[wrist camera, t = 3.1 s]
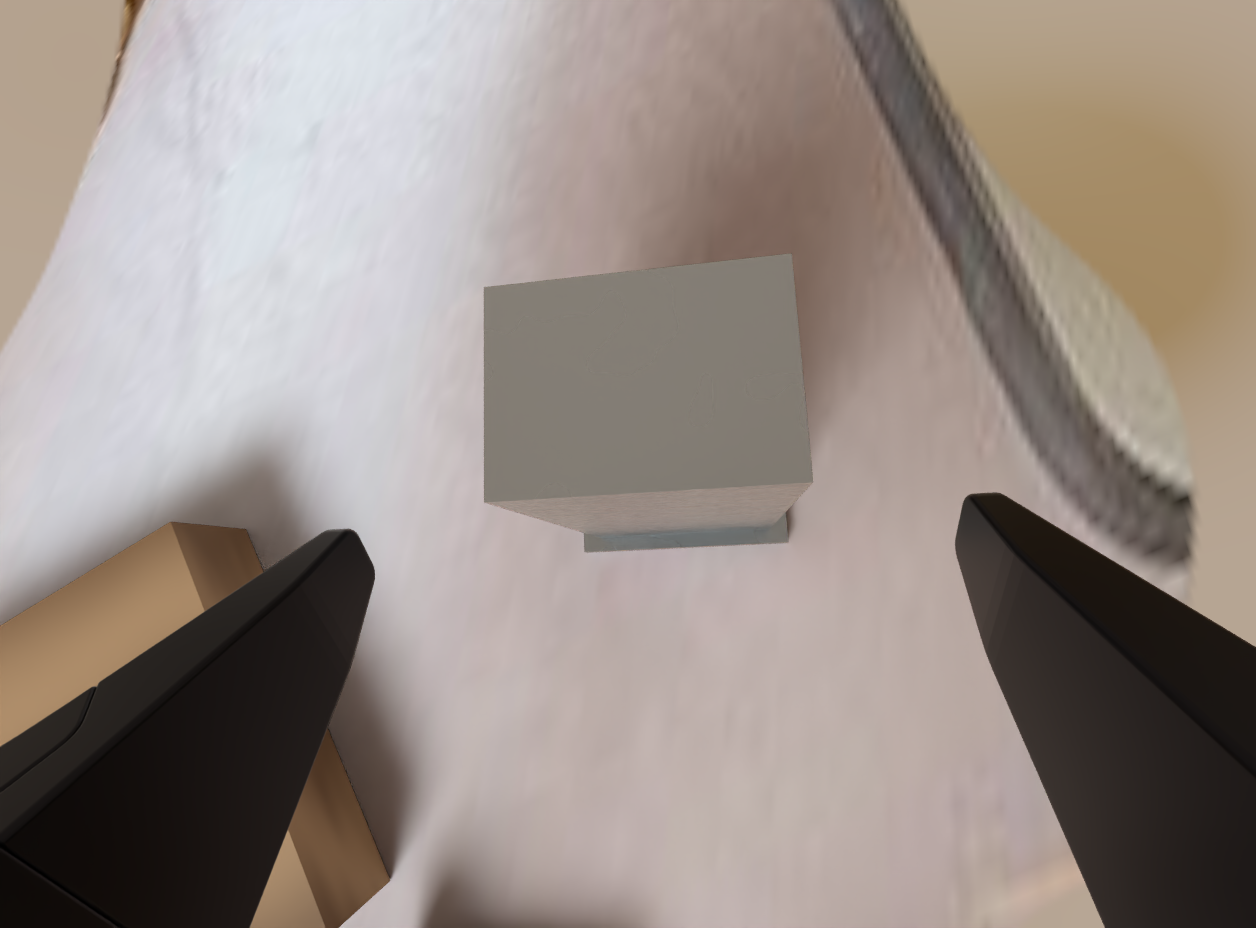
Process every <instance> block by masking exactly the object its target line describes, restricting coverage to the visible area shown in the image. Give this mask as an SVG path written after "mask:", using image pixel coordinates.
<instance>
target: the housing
mask: <svg viewBox="0 0 1256 928" xmlns="http://www.w3.org/2000/svg"><path fill="white" fill-rule="evenodd" d="M812 483H813V474H812V463H811V452H810V442H809V431H808V421H807V410H806V399H805V389H804V378H803V368H802V357H801V347H800V336H799V325H798V315H797V304H796V294H795V283H794V272H793V262H792V253H790V254H781V255H772V256H763V257H754V258H745V259H736V260H727V261H718V262H709V263H700V264H691V265H682V266H672V267H663V268H654V269H645V270H636V271H627V272H618V273H609V274H600V275H591V276H582V277H573V278H564V279H555V280H546V281H537V282H528V283H519V284H510V285H501V286H491V287H484V503H488V504H491V505H494V506H497V507H501V508H504V509H507V510H511V511H514V512H517V513H520V514H524V515H527V516H530V517H534V518H537V519H540V520H543V521H547V522H550V523H553V524H557V525H560V526H563V527H566V528H570V529H573V530H576V531H580V532H583V533H584V548H585V552H587V553H591V552H612V551H632V550H653V549H673V548H694V547H714V546H735V545H755V544H776V543H788V532H787V520H786V511H787V510H788V509H789V508H790V507H791V506H792V505H793V504H794V502H795V501H796V500H797V499H798V498H799V497H800V496H801V495H802V494H803V493H804V492H805V491H806V490H807V489H808V487H809V486H810V485H811V484H812Z"/></svg>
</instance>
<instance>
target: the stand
mask: <svg viewBox="0 0 1256 928" xmlns="http://www.w3.org/2000/svg"><path fill="white" fill-rule="evenodd" d="M261 573H263V570H262V567H261V565H260V562H259V560H258V558H257V555H256V553H255V550H254V548H253V545H252V543H251V540H250V538H249V536H248V533H247V531H246V529H239V528H229V527H219V526H209V525H198V524H188V523H178V522H169V523H168V524H166V525H164V526H163V527H161V528H159V529H158V530H156V531H155V532H153V533H151V534H150V535H148V536H146V537H145V538H143V539H141V540H140V541H138V542H137V543H135V544H133V545H132V546H130V547H128V548H127V549H125V550H123V551H122V552H120V553H119V554H117V555H115V556H114V557H112V558H110V559H109V560H107V561H105V562H104V563H102V564H101V565H99V566H97V567H96V568H94V569H92V570H91V571H89V572H87V573H86V574H84V575H83V576H81V577H79V578H78V579H76V580H74V581H73V582H71V583H69V584H68V585H66V586H65V587H63V588H61V589H60V590H58V591H56V592H55V593H53V594H51V595H50V596H48V597H47V598H45V599H43V600H42V601H40V602H38V603H37V604H35V605H33V606H32V607H30V608H29V609H27V610H25V611H24V612H22V613H20V614H19V615H17V616H15V617H14V618H12V619H11V620H9V621H7V622H6V623H4V624H2V625H1V626H0V746H2V745H3V744H5V743H6V742H8V741H10V740H11V739H13V738H14V737H16V736H18V735H19V734H21V733H22V732H24V731H25V730H27V729H29V728H30V727H32V726H33V725H35V724H36V723H38V722H39V721H41V720H42V719H44V718H45V717H47V716H48V715H50V714H52V713H53V712H55V711H56V710H58V709H59V708H61V707H62V706H64V705H65V704H67V703H68V702H70V701H71V700H73V699H74V698H76V697H77V696H79V695H80V694H82V693H83V692H85V691H86V690H88V689H89V688H91V687H93V686H97V685H98V683H99V682H100V681H101V680H103V679H104V678H106V677H107V676H109V675H110V674H112V673H113V672H115V671H116V670H118V669H119V668H121V667H122V666H124V665H125V664H127V663H128V662H130V661H131V660H133V659H134V658H136V657H137V656H139V655H140V654H142V653H143V652H145V651H146V650H148V649H149V648H151V647H152V646H154V645H155V644H157V643H158V642H160V641H161V640H163V639H164V638H166V637H167V636H169V635H170V634H172V633H173V632H175V631H176V630H178V629H179V628H181V627H182V626H184V625H185V624H187V623H188V622H190V621H191V620H192V619H194V618H195V617H197V616H198V615H200V614H201V613H203V612H204V611H206V610H207V609H209V608H210V607H212V606H213V605H215V604H216V603H218V602H219V601H221V600H222V599H224V598H225V597H227V596H228V595H230V594H231V593H233V592H234V591H236V590H237V589H239V588H240V587H242V586H243V585H245V584H246V583H248V582H249V581H251V580H252V579H254V578H255V577H257V576H258V575H260V574H261ZM389 881H390V879H389V876H388V874H387V871H386V869H385V866H384V864H383V862H382V859H381V857H380V854H379V852H378V849H377V847H376V845H375V842H374V840H373V837H372V835H371V832H370V830H369V827H368V825H367V823H366V820H365V818H364V815H363V813H362V810H361V808H360V806H359V803H358V801H357V798H356V796H355V793H354V791H353V789H352V786H351V784H350V781H349V779H348V776H347V774H346V772H345V769H344V767H343V764H342V762H341V759H340V757H339V755H338V752H337V750H336V747H335V745H334V742H333V740H332V737H331V735H330V733H329V730H328V728H327V731H326V733H325V736H324V738H323V741H322V743H321V746H320V749H319V751H318V754H317V756H316V759H315V761H314V764H313V767H312V769H311V772H310V774H309V777H308V779H307V782H306V785H305V787H304V790H303V792H302V795H301V797H300V800H299V803H298V805H297V808H296V810H295V813H294V815H293V818H292V821H291V823H290V826H289V828H288V831H287V833H286V836H285V839H284V841H283V844H282V846H281V849H280V851H279V854H278V857H277V859H276V862H275V864H274V867H273V870H272V872H271V875H270V877H269V880H268V882H267V885H266V888H265V890H264V893H263V895H262V898H261V900H260V903H259V906H258V908H257V911H256V913H255V916H254V918H253V921H252V924H251V926H250V928H339V927H340V926H341V925H342V924H343V923H344V922H345V921H346V920H347V919H349V918H350V917H351V916H352V915H353V914H354V913H355V912H356V911H357V910H358V909H360V908H361V907H362V906H363V905H364V904H365V903H366V902H367V901H368V900H369V899H371V898H372V897H373V896H374V895H375V894H376V893H377V892H378V891H379V890H381V889H382V888H383V887H384V886H385V885H386V884H387V883H388V882H389Z"/></svg>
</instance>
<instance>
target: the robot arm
mask: <svg viewBox="0 0 1256 928" xmlns="http://www.w3.org/2000/svg"><path fill="white" fill-rule="evenodd" d="M955 549H956V555H957V559H958V562H959V565H960V569H961V572H962V576H963V579H964V582H965V586H966V589H967V592H968V596H969V599H970V603H971V606H972V609H973V613H974V616H975V619H976V623H977V626H978V630H979V633H980V636H981V639H982V642H983V646H984V649H985V652H986V654H987V657H988V659H989V662H990V664H991V667H992V669H993V672H994V674H995V676H996V679H997V681H998V683H999V685H1000V688H1001V690H1002V692H1003V695H1004V697H1005V699H1006V702H1007V704H1008V706H1009V708H1010V711H1011V713H1012V715H1013V718H1014V720H1015V722H1016V725H1017V727H1018V729H1019V731H1020V734H1021V736H1022V738H1023V741H1024V743H1025V745H1026V748H1027V750H1028V752H1029V754H1030V757H1031V759H1032V761H1033V764H1034V766H1035V768H1036V770H1037V773H1038V775H1039V777H1040V780H1041V782H1042V784H1043V787H1044V789H1045V791H1046V793H1047V796H1048V798H1049V800H1050V803H1051V805H1052V807H1053V810H1054V812H1055V814H1056V816H1057V819H1058V821H1059V823H1060V826H1061V828H1062V830H1063V832H1064V835H1065V837H1066V839H1067V842H1068V844H1069V846H1070V849H1071V851H1072V853H1073V855H1074V858H1075V860H1076V862H1077V865H1078V867H1079V869H1080V872H1081V874H1082V876H1083V878H1084V881H1085V883H1086V885H1087V888H1088V890H1089V892H1090V894H1091V897H1092V899H1093V901H1094V904H1095V906H1096V908H1097V911H1098V913H1099V915H1100V917H1101V920H1102V922H1103V924H1104V926H1105V928H1256V647H1255V646H1253V645H1251V644H1250V643H1248V642H1246V641H1245V640H1243V639H1241V638H1240V637H1238V636H1236V635H1235V634H1233V633H1231V632H1230V631H1228V630H1226V629H1225V628H1223V627H1222V626H1220V625H1218V624H1217V623H1215V622H1213V621H1212V620H1210V619H1208V618H1207V617H1205V616H1203V615H1202V614H1200V613H1198V612H1197V611H1195V610H1193V609H1192V608H1190V607H1188V606H1187V605H1185V604H1184V603H1182V602H1180V601H1179V600H1177V599H1175V598H1174V597H1172V596H1170V595H1169V594H1167V593H1165V592H1164V591H1162V590H1160V589H1159V588H1157V587H1155V586H1154V585H1152V584H1150V583H1149V582H1147V581H1145V580H1144V579H1142V578H1141V577H1139V576H1137V575H1136V574H1134V573H1132V572H1131V571H1129V570H1127V569H1126V568H1124V567H1122V566H1121V565H1119V564H1117V563H1116V562H1114V561H1112V560H1111V559H1109V558H1107V557H1106V556H1104V555H1103V554H1101V553H1099V552H1098V551H1096V550H1094V549H1093V548H1091V547H1089V546H1088V545H1086V544H1084V543H1083V542H1081V541H1079V540H1078V539H1076V538H1074V537H1073V536H1071V535H1069V534H1068V533H1066V532H1064V531H1063V530H1061V529H1060V528H1058V527H1056V526H1055V525H1053V524H1051V523H1050V522H1048V521H1046V520H1045V519H1043V518H1041V517H1040V516H1038V515H1036V514H1035V513H1033V512H1031V511H1030V510H1028V509H1026V508H1025V507H1023V506H1022V505H1020V504H1018V503H1017V502H1015V501H1013V500H1012V499H1010V498H1008V497H1007V496H1005V495H1003V494H1001V493H977V494H970V495H968V496H967V497H966V498H965V500H964V502H963V505H962V510H961V515H960V520H959V524H958V529H957V534H956V539H955ZM374 580H375V570H374V566H373V564H372V562H371V560H370V558H369V556H368V554H367V552H366V550H365V548H364V546H363V544H362V542H361V540H360V538H359V536H358V534H357V533H356V532H355V531H354V530H351V529H333V530H327V531H324V532H323V533H321V534H320V535H318V536H317V537H315V538H314V539H312V540H311V541H309V542H308V543H306V544H305V545H303V546H302V547H300V548H299V549H297V550H296V551H294V552H293V553H291V554H290V555H288V556H287V557H285V558H284V559H282V560H281V561H279V562H278V563H276V564H275V565H273V566H272V567H270V568H269V569H267V570H266V571H264V572H263V573H261V574H260V575H258V576H257V577H255V578H254V579H252V580H251V581H249V582H248V583H246V584H245V585H243V586H242V587H240V588H239V589H237V590H236V591H234V592H233V593H231V594H230V595H228V596H227V597H225V598H224V599H222V600H221V601H219V602H218V603H216V604H215V605H213V606H212V607H210V608H209V609H207V610H206V611H204V612H203V613H201V614H200V615H198V616H197V617H195V618H194V619H192V620H191V621H190V622H188V623H187V624H185V625H184V626H182V627H181V628H179V629H178V630H176V631H175V632H173V633H172V634H170V635H169V636H167V637H166V638H164V639H163V640H161V641H160V642H158V643H157V644H155V645H154V646H152V647H151V648H149V649H148V650H146V651H145V652H143V653H142V654H140V655H139V656H137V657H136V658H134V659H133V660H131V661H130V662H128V663H127V664H125V665H124V666H122V667H121V668H119V669H118V670H116V671H115V672H113V673H112V674H110V675H109V676H107V677H106V678H104V679H103V680H101V681H100V682H99V683H98V685H97V686H93V687H91V688H89V689H88V690H86V691H85V692H83V693H82V694H80V695H79V696H77V697H76V698H74V699H73V700H71V701H70V702H68V703H67V704H65V705H64V706H62V707H61V708H59V709H58V710H56V711H55V712H53V713H52V714H50V715H48V716H47V717H45V718H44V719H42V720H41V721H39V722H38V723H36V724H35V725H33V726H32V727H30V728H29V729H27V730H25V731H24V732H22V733H21V734H19V735H18V736H16V737H14V738H13V739H11V740H10V741H8V742H6V743H5V744H3V745H2V746H0V928H250V926H251V924H252V921H253V918H254V916H255V913H256V911H257V908H258V906H259V903H260V900H261V898H262V895H263V893H264V890H265V888H266V885H267V882H268V880H269V877H270V875H271V872H272V870H273V867H274V864H275V862H276V859H277V857H278V854H279V851H280V849H281V846H282V844H283V841H284V839H285V836H286V833H287V831H288V828H289V826H290V823H291V821H292V818H293V815H294V813H295V810H296V808H297V805H298V803H299V800H300V797H301V795H302V792H303V790H304V787H305V785H306V782H307V779H308V777H309V774H310V772H311V769H312V767H313V764H314V761H315V759H316V756H317V754H318V751H319V749H320V746H321V743H322V741H323V738H324V736H325V733H326V731H327V728H328V725H329V723H330V720H331V718H332V715H333V713H334V710H335V707H336V705H337V702H338V700H339V697H340V695H341V692H342V689H343V687H344V684H345V682H346V679H347V676H348V673H349V670H350V668H351V664H352V661H353V658H354V655H355V651H356V647H357V644H358V640H359V636H360V633H361V629H362V625H363V622H364V618H365V614H366V610H367V607H368V603H369V599H370V596H371V592H372V588H373V585H374Z"/></svg>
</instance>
